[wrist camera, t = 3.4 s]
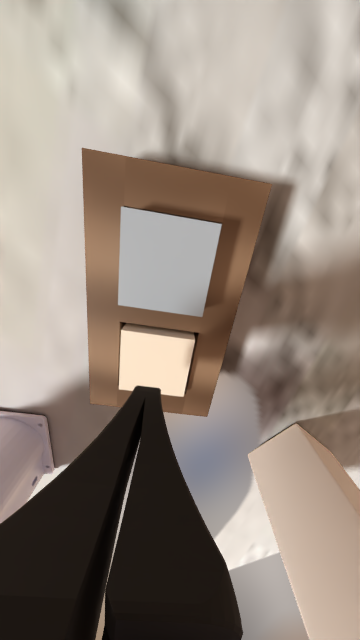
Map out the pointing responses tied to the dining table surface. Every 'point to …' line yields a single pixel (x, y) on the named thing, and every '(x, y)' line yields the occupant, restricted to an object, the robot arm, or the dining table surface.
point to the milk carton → (314, 529)
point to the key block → (109, 318)
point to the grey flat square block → (165, 261)
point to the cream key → (155, 358)
